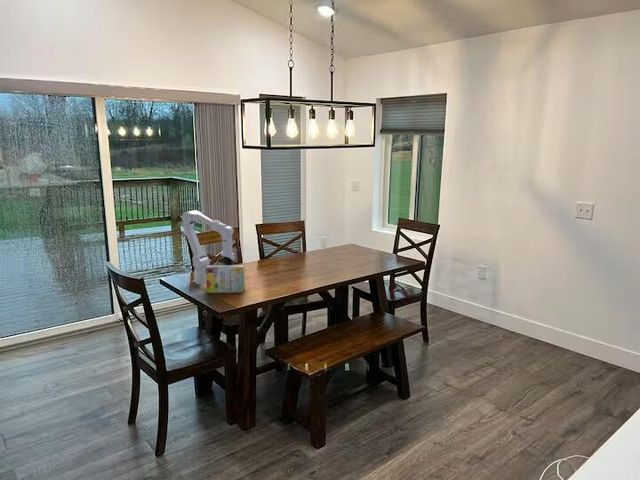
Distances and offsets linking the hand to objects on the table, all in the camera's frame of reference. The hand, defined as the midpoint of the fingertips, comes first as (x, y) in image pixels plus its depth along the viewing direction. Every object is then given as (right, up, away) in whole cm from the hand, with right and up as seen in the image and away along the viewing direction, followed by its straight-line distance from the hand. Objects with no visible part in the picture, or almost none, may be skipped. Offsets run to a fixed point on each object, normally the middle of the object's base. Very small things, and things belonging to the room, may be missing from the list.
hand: (228, 269), depth 273 cm
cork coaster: (-12, -10, 0) cm, 16 cm away
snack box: (+1, -12, -8) cm, 15 cm away
